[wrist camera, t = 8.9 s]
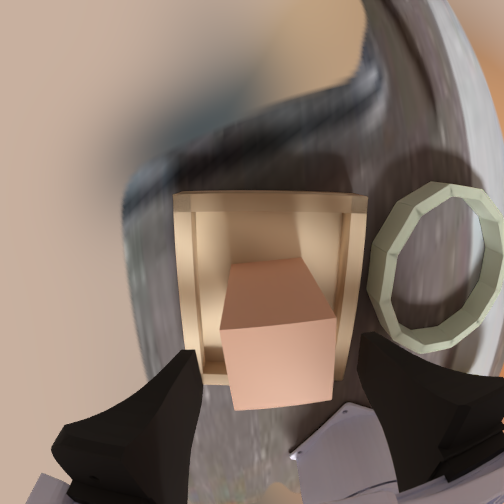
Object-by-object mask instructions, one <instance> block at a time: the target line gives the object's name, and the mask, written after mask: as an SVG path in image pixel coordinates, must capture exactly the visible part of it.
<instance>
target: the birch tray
mask: <svg viewBox="0 0 504 504" xmlns="http://www.w3.org/2000/svg"><path fill="white" fill-rule="evenodd" d="M367 203H368V197H367V196H363V195H359V194H355V193H340V192H316V191H277V190H220V191H183V192H179V193H176V194H173V209H174V231H175V248H176V262H177V275H178V287H179V298H180V308H181V317H182V326H183V334H184V342H185V350H193V349H195V351H196V355H197V360H198V364H199V369H200V373H201V377H202V382H203V384H209V385H229V380H228V375H227V369H226V364H225V359H224V353H223V348H222V342H221V337H220V331H219V329H220V324H221V318H222V312H223V307H224V301H225V296H226V290H227V285H228V279H229V274H230V268H231V264H238V263H249V262H259V261H269V260H279V259H289V258H299V257H302V259H303V260H304V262H305V264H306V265H307V267H308V269H309V271H310V272H311V274H312V276H313V277H314V279H315V281H316V283H317V284H318V286H319V288H320V289H321V291H322V293H323V295H324V296H325V298H326V300H327V302H328V303H329V305H330V307H331V309H332V310H333V312H334V314H335V316H336V317H337V322H336V346H335V364H334V378H333V381H341V380H343V377H344V372H345V368H346V363H347V358H348V353H349V348H350V343H351V337H352V332H353V326H354V320H355V314H356V308H357V301H358V294H359V287H360V280H361V271H362V263H363V253H364V243H365V232H366V219H367Z"/></svg>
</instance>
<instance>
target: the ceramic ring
mask: <svg viewBox="0 0 504 504" xmlns="http://www.w3.org/2000/svg"><path fill="white" fill-rule="evenodd" d="M451 196H455V197H462V199H463V200H464V201H465V202H466V203H467V204H468V205H469V206H470V207H471V208H472V210H473V211H474V212H475V213H476V214H477V215H478V216H479V220H480V224H481V229H482V233H483V238H484V243H485V252H484V258H483V263H482V268H481V273H480V278H479V281H478V283H477V284H476V286H475V288H474V289H473V291H472V293H471V294H470V296H469V298H468V299H467V301H466V302H465V304H464V306H463V307H462V308H461V309H460V310H459V311H457V312H456V313H455V314H453V315H452V316H451V317H449V318H448V319H447V320H445V321H444V322H443V323H441V324H440V325H438V326H435V327H428V328H421V329H414V330H410V329H408V328H406V327H405V326H403V325H401V324H400V323H398V321H397V318H396V315H395V312H394V309H393V306H392V304H391V301H390V300H391V294H392V288H393V282H394V276H395V270H396V263H397V256H398V254H399V253H400V251H401V250H402V248H403V246H404V245H405V243H406V241H407V240H408V238H409V236H410V235H411V233H412V231H413V229H414V228H415V226H416V224H417V222H418V221H419V219H420V217H421V216H422V215H424V214H425V213H427V212H428V211H430V210H432V209H433V208H435V207H436V206H438V205H439V204H441V203H442V202H444V201H445V200H447V199H448V198H450V197H451ZM503 279H504V219H503V215H502V214H501V212H500V211H499V210H498V208H497V207H496V206H495V204H494V203H493V202H492V201H491V199H490V198H489V197H488V195H487V194H486V193H485V192H484V191H483V189H478V188H472V187H467V186H461V185H455V184H448V183H441V182H432V181H430V182H429V183H427V184H425V185H424V186H422V187H420V188H419V189H417V190H415V191H414V192H412V193H410V194H409V195H407V196H405V197H404V198H402V199H400V200H399V201H397V202H396V203H395V205H394V207H393V209H392V210H391V212H390V214H389V216H388V217H387V219H386V221H385V222H384V224H383V226H382V227H381V229H380V231H379V232H378V234H377V236H376V237H375V239H374V240H373V242H372V246H371V255H370V264H369V272H368V280H367V287H366V290H367V293H368V295H369V298H370V300H371V302H372V305H373V307H374V310H375V312H376V315H377V317H378V320H379V322H380V324H381V326H382V327H383V328H384V329H385V331H386V332H387V333H388V335H389V336H390V337H391V338H392V340H394V341H395V342H397V343H399V344H401V345H403V346H405V347H407V348H409V349H411V350H412V351H414V352H416V353H418V354H423V353H429V352H434V351H439V350H444V349H448V348H452V347H453V346H454V345H456V344H457V343H458V342H460V341H461V340H462V339H463V338H465V337H466V336H467V335H469V334H470V333H471V332H472V331H474V330H475V329H476V328H477V327H478V326H480V324H481V323H482V321H483V320H484V318H485V316H486V315H487V313H488V312H489V310H490V308H491V307H492V305H493V303H494V302H495V300H496V298H497V297H498V295H499V293H500V291H501V287H502V283H503Z"/></svg>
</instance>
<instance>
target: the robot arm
mask: <svg viewBox="0 0 504 504" xmlns="http://www.w3.org/2000/svg"><path fill="white" fill-rule="evenodd" d="M357 372H358V375H359V378H360V381H361V384H362V387H363V389H364V391H365V393H366V396H367V398H368V400H369V402H370V404H371V406H372V408H373V409H370V408H367V407H363V406H360V405H357V404H354V403H351V402H348V403H345V404H344V405H343V406H342V407H341V408H340V409H339V410H338V411H337V412H336V413H335V414H334V415H333V416H332V417H331V418H330V419H329V420H328V421H327V422H326V423H325V424H324V425H322V426H321V427H320V428H319V429H318V430H317V431H316V432H315V433H314V434H313V435H312V436H310V437H309V438H308V439H307V440H306V441H305V442H304V443H302V444H301V445H300V446H299V447H298V448H297V449H295V450H294V451H293V452H292V453H291V454H290V455H289V456H290V459H294V460H297V467H298V474H299V481H300V488H301V495H302V501H303V504H503V503H504V433H503V431H502V430H504V424H503V423H502V422H501V421H502V419H503V417H504V378H503V377H491V376H479V375H472V374H467V373H462V372H458V371H454V370H450V369H447V368H444V367H441V366H438V365H436V364H433V363H431V362H428V361H426V360H424V359H422V358H420V357H418V356H416V355H414V354H412V353H410V352H408V351H406V350H404V349H403V348H401V347H399V346H398V345H396V344H394V343H393V342H391V341H389V340H388V339H386V338H384V337H383V336H381V335H379V334H377V333H375V332H369V333H363V334H361V340H360V349H359V358H358V365H357ZM202 394H203V382H202V377H201V373H200V369H199V364H198V360H197V355H196V351H195V349H193V350H181V351H180V352H179V353H178V354H177V355H176V356H175V357H174V358H173V359H172V360H171V361H170V362H169V363H168V364H167V365H166V366H165V367H164V368H163V369H162V370H161V371H160V372H159V373H158V374H157V375H156V376H155V377H154V378H153V379H152V380H150V381H149V382H148V383H147V384H146V385H145V386H144V387H142V388H141V389H140V390H139V391H137V392H136V393H134V394H133V395H132V396H130V397H129V398H127V399H126V400H124V401H122V402H121V403H119V404H117V405H115V406H114V407H112V408H110V409H108V410H106V411H104V412H102V413H100V414H97V415H95V416H92V417H90V418H87V419H84V420H81V421H78V422H74V423H71V424H67V425H64V427H63V428H62V430H61V432H60V433H59V435H58V437H57V438H56V440H55V442H54V443H53V445H52V448H51V451H52V454H53V456H54V458H55V460H56V461H57V462H58V464H59V465H60V466H61V467H62V468H63V470H64V471H65V472H66V473H67V474H68V475H69V476H70V477H71V479H72V483H71V485H69V484H67V483H65V482H63V481H61V480H59V479H56V478H54V477H51V476H49V475H46V474H44V473H41V475H40V477H39V479H38V481H37V482H36V484H35V486H34V488H33V490H32V492H31V494H30V496H29V498H28V500H27V502H26V504H187V500H188V478H189V465H190V455H191V447H192V442H193V438H194V434H195V430H196V425H197V421H198V417H199V413H200V408H201V404H202ZM344 410H345V411H344Z"/></svg>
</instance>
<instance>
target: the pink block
mask: <svg viewBox="0 0 504 504" xmlns="http://www.w3.org/2000/svg"><path fill="white" fill-rule="evenodd" d="M336 322H337V317H336V316H335V314H334V312H333V310H332V309H331V307H330V305H329V303H328V302H327V300H326V298H325V296H324V295H323V293H322V291H321V289H320V288H319V286H318V284H317V283H316V281H315V279H314V277H313V276H312V274H311V272H310V271H309V269H308V267H307V265H306V264H305V262H304V260H303V259H302V257H299V258H289V259H279V260H269V261H259V262H249V263H238V264H231V268H230V274H229V279H228V285H227V290H226V296H225V301H224V307H223V312H222V318H221V324H220V329H219V331H220V337H221V342H222V348H223V353H224V359H225V364H226V369H227V375H228V380H229V385H230V390H231V395H232V400H233V405H234V409H235V410H252V409H265V408H275V407H285V406H293V405H301V404H308V403H315V402H321V401H327V400H332V391H333V378H334V364H335V346H336Z"/></svg>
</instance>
